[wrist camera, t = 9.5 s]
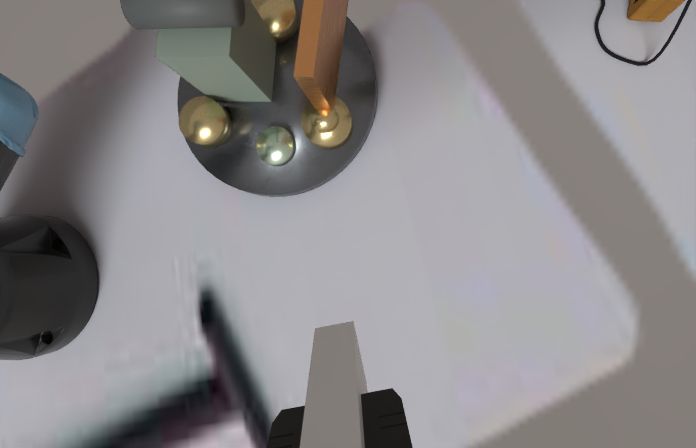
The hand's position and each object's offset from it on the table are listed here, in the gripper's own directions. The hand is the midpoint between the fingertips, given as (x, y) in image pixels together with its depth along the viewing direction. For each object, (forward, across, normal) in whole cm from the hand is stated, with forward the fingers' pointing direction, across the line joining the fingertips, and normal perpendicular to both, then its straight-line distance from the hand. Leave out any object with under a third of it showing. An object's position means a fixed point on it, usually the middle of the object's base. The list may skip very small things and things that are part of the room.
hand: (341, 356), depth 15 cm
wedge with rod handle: (+27, -6, +16) cm, 32 cm away
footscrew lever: (+25, +2, +14) cm, 28 cm away
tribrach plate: (+28, -4, +13) cm, 31 cm away
